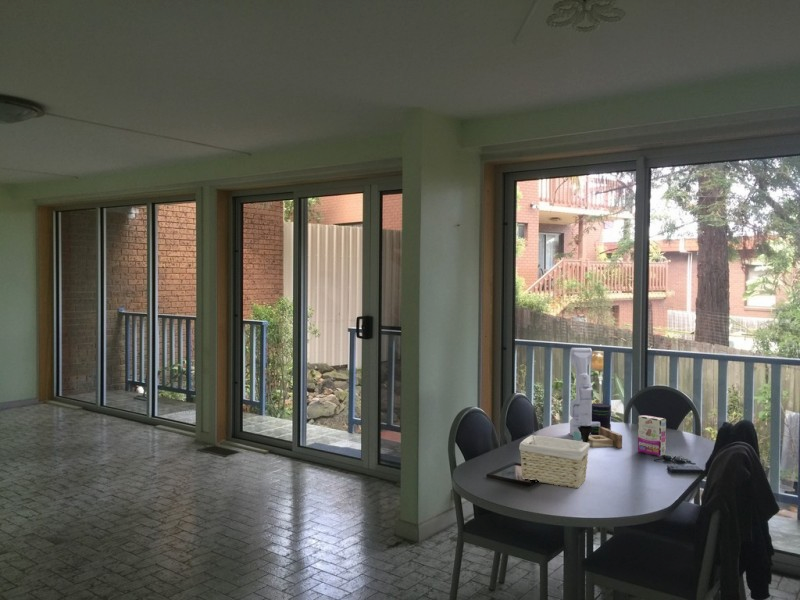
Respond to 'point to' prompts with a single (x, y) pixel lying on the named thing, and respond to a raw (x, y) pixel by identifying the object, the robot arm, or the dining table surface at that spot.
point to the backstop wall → (612, 436)
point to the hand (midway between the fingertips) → (584, 442)
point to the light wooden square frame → (599, 441)
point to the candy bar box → (652, 435)
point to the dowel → (577, 436)
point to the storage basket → (554, 460)
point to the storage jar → (601, 416)
